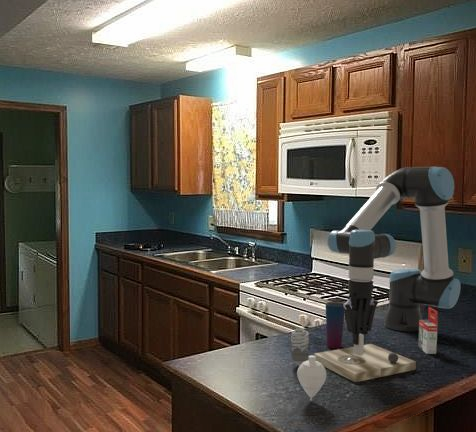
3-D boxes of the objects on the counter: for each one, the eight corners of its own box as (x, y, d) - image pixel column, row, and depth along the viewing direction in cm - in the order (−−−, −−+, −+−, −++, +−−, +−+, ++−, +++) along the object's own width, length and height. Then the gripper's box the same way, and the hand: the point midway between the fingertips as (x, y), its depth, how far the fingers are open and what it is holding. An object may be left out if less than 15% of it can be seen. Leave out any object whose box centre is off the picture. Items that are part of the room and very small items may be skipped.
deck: (371, 350, 183) (371, 343, 183) (415, 369, 165) (415, 361, 165) (313, 361, 172) (314, 353, 172) (354, 382, 154) (355, 373, 154)
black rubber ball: (393, 360, 166) (393, 350, 166) (400, 363, 164) (400, 353, 163) (385, 361, 165) (386, 352, 165) (392, 364, 162) (393, 355, 162)
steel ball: (350, 355, 168) (342, 357, 166) (357, 358, 165) (349, 360, 164) (350, 365, 168) (342, 367, 167) (357, 368, 165) (349, 370, 164)
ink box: (426, 354, 180) (427, 311, 179) (417, 346, 188) (418, 306, 187) (436, 354, 180) (438, 311, 180) (427, 346, 188) (429, 306, 187)
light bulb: (287, 364, 168) (287, 327, 167) (302, 362, 170) (303, 325, 170) (296, 370, 163) (296, 332, 162) (311, 368, 165) (312, 330, 165)
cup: (344, 349, 184) (345, 306, 183) (324, 348, 185) (325, 305, 184) (344, 343, 191) (345, 302, 190) (324, 342, 192) (325, 301, 191)
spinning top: (293, 403, 139) (294, 358, 138) (300, 393, 146) (301, 350, 145) (322, 408, 136) (323, 362, 135) (328, 397, 143) (329, 353, 142)
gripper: (368, 276, 172) (366, 347, 174) (336, 279, 166) (334, 353, 168) (385, 280, 165) (382, 354, 167) (352, 283, 159) (350, 360, 161)
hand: (358, 354), depth 167 cm, fingers closed
